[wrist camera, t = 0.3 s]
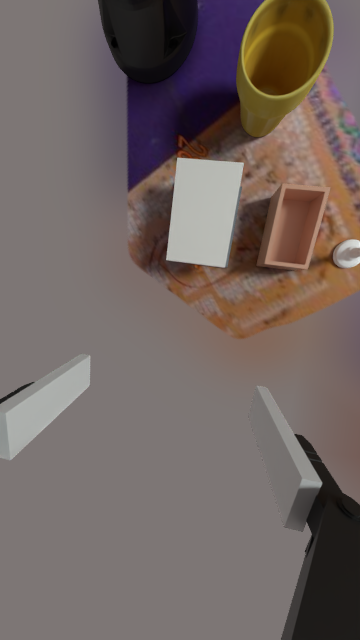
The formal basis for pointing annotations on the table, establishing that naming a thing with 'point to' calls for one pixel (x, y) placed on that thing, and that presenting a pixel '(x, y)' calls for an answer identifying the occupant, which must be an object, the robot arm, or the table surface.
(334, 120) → the table surface
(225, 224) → the board
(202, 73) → the table surface
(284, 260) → the open box
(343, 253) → the chess piece
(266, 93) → the plant pot
